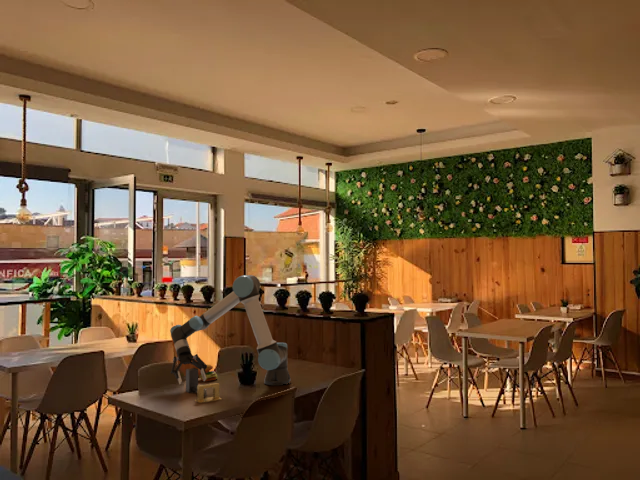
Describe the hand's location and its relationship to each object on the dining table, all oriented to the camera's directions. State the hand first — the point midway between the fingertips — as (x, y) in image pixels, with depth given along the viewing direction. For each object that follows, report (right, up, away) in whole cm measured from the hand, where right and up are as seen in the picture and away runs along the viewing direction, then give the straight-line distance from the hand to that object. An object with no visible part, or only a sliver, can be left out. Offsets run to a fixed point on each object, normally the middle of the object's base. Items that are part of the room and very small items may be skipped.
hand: (193, 381), depth 289 cm
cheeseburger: (+1, -7, +31) cm, 31 cm away
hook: (+4, -6, -5) cm, 8 cm away
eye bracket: (+12, -5, -17) cm, 21 cm away
